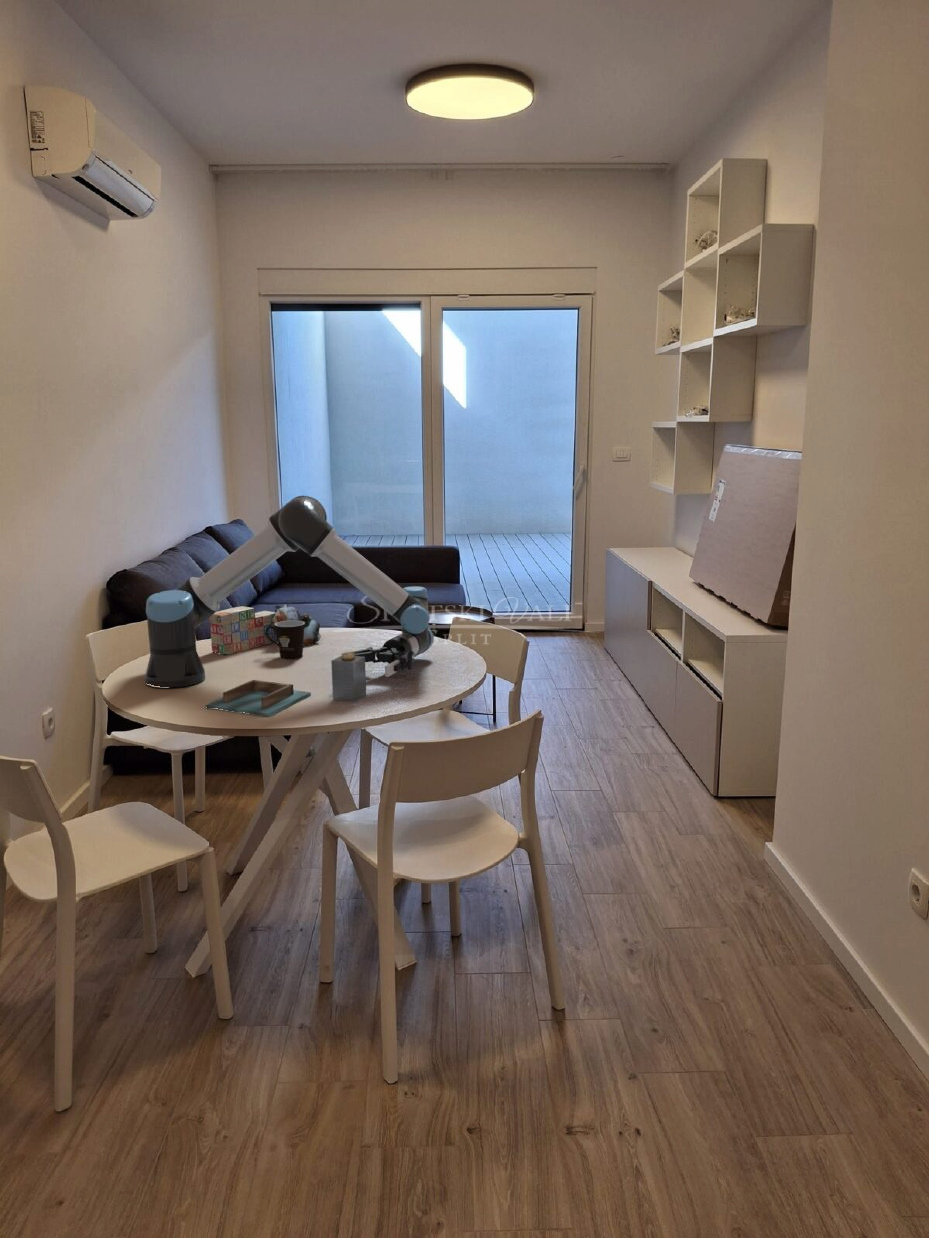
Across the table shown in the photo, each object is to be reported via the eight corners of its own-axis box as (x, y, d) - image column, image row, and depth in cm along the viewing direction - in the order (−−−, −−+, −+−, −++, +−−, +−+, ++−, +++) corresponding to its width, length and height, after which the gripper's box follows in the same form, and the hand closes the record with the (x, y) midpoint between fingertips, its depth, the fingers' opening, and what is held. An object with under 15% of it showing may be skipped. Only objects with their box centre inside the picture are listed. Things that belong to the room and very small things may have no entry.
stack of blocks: (267, 638, 279) (264, 601, 276) (280, 641, 275) (277, 603, 272) (211, 652, 262) (208, 612, 259) (224, 655, 258) (221, 614, 256)
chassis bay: (205, 708, 210) (204, 694, 209) (251, 687, 226) (250, 675, 225) (268, 716, 203) (267, 703, 202) (310, 695, 219) (310, 682, 218)
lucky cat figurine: (320, 646, 268) (298, 609, 262) (285, 660, 270) (262, 624, 264) (324, 622, 281) (303, 587, 275) (291, 636, 283) (269, 601, 277)
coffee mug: (312, 656, 257) (310, 623, 254) (288, 662, 250) (286, 628, 248) (288, 650, 264) (286, 617, 262) (264, 655, 258) (262, 622, 256)
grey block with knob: (333, 699, 215) (331, 655, 213) (345, 692, 221) (343, 650, 218) (354, 702, 213) (352, 658, 211) (366, 695, 218) (364, 652, 216)
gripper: (441, 667, 236) (407, 688, 217) (360, 658, 245) (320, 678, 226) (441, 640, 234) (406, 659, 215) (359, 632, 244) (319, 650, 225)
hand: (362, 669), depth 221 cm, fingers open, 13 cm apart
